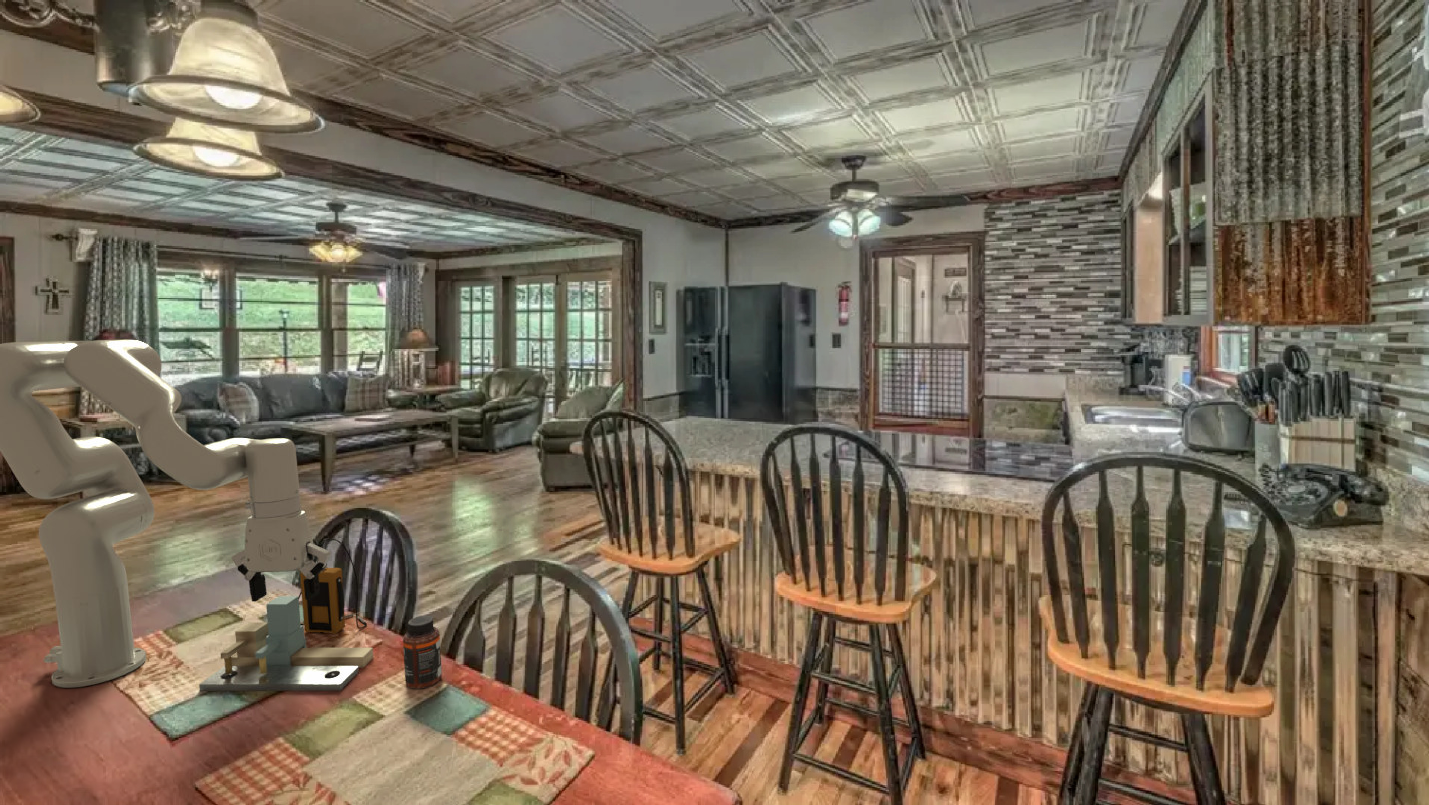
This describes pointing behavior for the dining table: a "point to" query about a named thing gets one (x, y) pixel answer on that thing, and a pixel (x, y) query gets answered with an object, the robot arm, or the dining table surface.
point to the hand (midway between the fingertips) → (285, 597)
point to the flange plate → (281, 678)
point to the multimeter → (327, 601)
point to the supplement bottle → (422, 653)
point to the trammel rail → (254, 639)
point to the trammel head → (282, 633)
